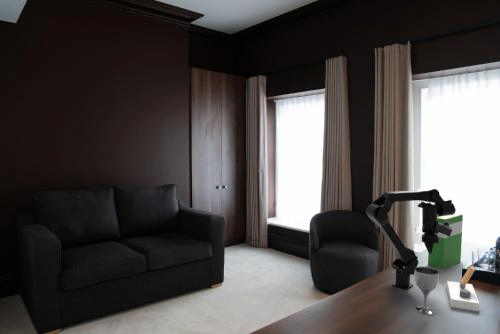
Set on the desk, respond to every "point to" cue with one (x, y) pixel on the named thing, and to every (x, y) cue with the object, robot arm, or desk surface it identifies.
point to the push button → (465, 293)
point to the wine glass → (426, 286)
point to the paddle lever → (466, 277)
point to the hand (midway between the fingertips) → (430, 253)
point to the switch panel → (461, 301)
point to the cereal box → (447, 244)
